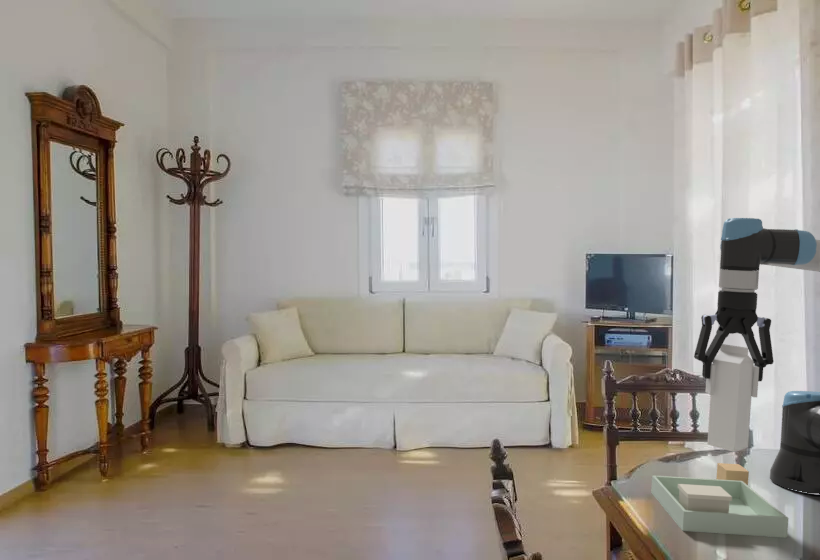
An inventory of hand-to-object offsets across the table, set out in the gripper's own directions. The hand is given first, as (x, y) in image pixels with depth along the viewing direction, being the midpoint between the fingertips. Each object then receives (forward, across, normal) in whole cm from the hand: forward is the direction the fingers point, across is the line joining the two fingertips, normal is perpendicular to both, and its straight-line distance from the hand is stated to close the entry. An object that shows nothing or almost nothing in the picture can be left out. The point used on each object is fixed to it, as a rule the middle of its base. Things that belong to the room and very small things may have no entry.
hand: (730, 394), depth 139 cm
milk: (+12, 0, 0) cm, 12 cm away
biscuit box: (+25, -6, -11) cm, 28 cm away
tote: (+25, +4, +4) cm, 26 cm away
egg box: (+25, +8, +10) cm, 28 cm away
